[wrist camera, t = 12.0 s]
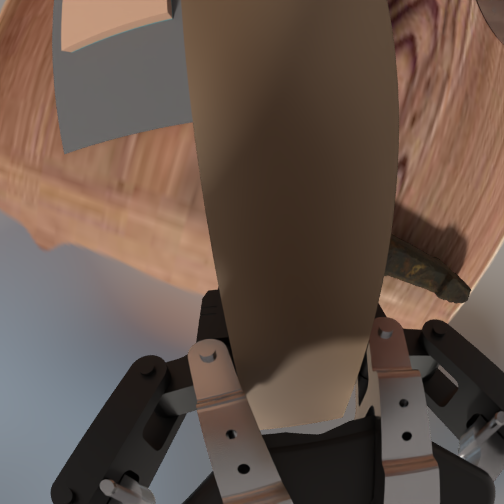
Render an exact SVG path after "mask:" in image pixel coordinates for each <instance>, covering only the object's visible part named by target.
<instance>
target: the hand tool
mask: <svg viewBox="0 0 504 504" xmlns="http://www.w3.org/2000/svg"><path fill="white" fill-rule="evenodd" d="M384 276H391V277H394V278H397V279H399V280H402V281H404V282H407V283H410V284H413V285H415V286H418V287H422V288H425V289H427V290H429V291H431V292H434V293H435V294H436V295H437V296H438V297H439V298H440V299H443V300H447V301H449V302H454V303H464V302H466V301H467V300H468V297H469V294H470V291H471V289H470V288H469V286H468V285H467V284H466V283H465V282H464V281H463V280H462V279H461V278H460V277H459V276H458V275H457V274H456V273H453V272H452V271H451V270H450V269H449V268H448V267H447V266H446V265H445V264H444V263H443V262H441V261H440V260H439V259H438V258H436V257H431V256H430V255H428V254H426V253H425V252H423V251H421V250H419V249H418V248H416V247H414V246H413V245H411V244H409V243H407V242H404V241H402V240H400V239H399V238H396V237H395V236H394V235H393V234H391V237H390V244H389V250H388V256H387V262H386V267H385V273H384Z"/></svg>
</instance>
